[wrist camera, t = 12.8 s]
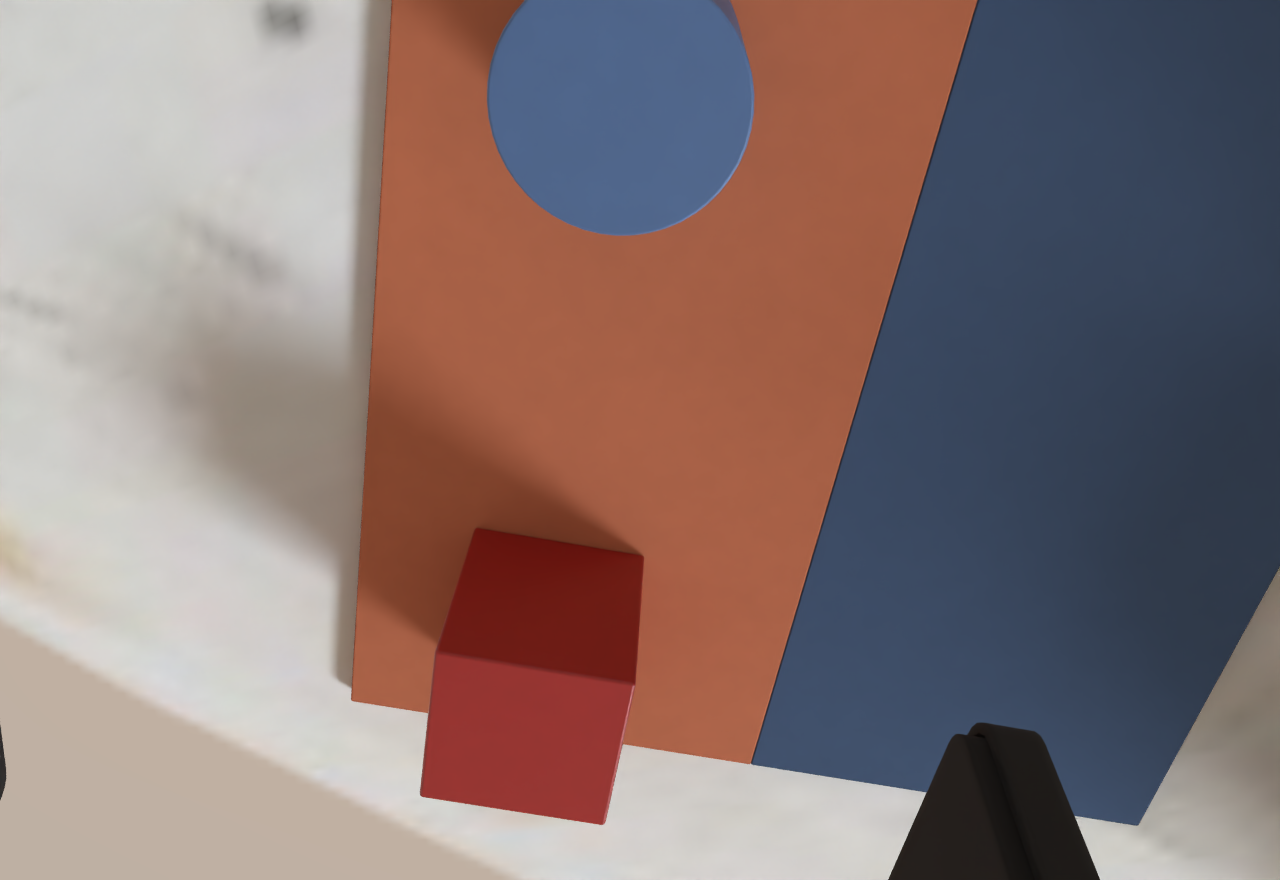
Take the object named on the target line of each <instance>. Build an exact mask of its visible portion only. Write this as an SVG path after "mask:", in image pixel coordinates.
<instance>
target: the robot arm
mask: <svg viewBox="0 0 1280 880" xmlns="http://www.w3.org/2000/svg"><path fill="white" fill-rule="evenodd" d="M5 782H6V766H5V758H4V750H3V742H2V735H1V727H0V799H1V797H2V794H3V791H4V788H5ZM888 880H1100V878H1099V876H1098V873H1097V871H1096V868H1095V866H1094V863H1093V861H1092V859H1091V856H1090V854H1089V851H1088V849H1087V846H1086V844H1085V841H1084V839H1083V836H1082V834H1081V831H1080V829H1079V826H1078V824H1077V821H1076V819H1075V816H1074V814H1073V811H1072V809H1071V806H1070V804H1069V801H1068V799H1067V796H1066V794H1065V791H1064V789H1063V787H1062V784H1061V782H1060V779H1059V777H1058V774H1057V772H1056V769H1055V767H1054V764H1053V762H1052V759H1051V757H1050V754H1049V752H1048V749H1047V747H1046V744H1045V742H1044V741H1043V739H1042V737H1041V735H1039V734H1038V733H1037V732H1035V731H1031V730H1025V729H1019V728H1013V727H1007V726H1001V725H995V724H989V723H983V722H980V723H976V724H975V725H974V726H972V727H971V729H970V731H969V733H968V734H967V735H964V734H955V735H954V736H953V737H952V738H951V740H950V742H949V743H948V746H947V748H946V750H945V752H944V755H943V757H942V759H941V761H940V764H939V766H938V768H937V770H936V773H935V775H934V777H933V780H932V782H931V784H930V786H929V789H928V791H927V793H926V795H925V798H924V800H923V802H922V804H921V807H920V809H919V811H918V813H917V816H916V818H915V820H914V823H913V825H912V827H911V829H910V832H909V834H908V836H907V838H906V841H905V843H904V845H903V847H902V850H901V852H900V854H899V856H898V859H897V861H896V863H895V866H894V868H893V870H892V872H891V875H890V877H889V879H888Z"/></svg>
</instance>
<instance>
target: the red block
mask: <svg viewBox="0 0 1280 880" xmlns="http://www.w3.org/2000/svg"><path fill="white" fill-rule="evenodd" d="M643 571H644V557H643V556H642V555H637V554H631V553H625V552H619V551H613V550H607V549H601V548H595V547H589V546H583V545H577V544H571V543H565V542H559V541H553V540H547V539H541V538H535V537H529V536H523V535H517V534H511V533H505V532H499V531H493V530H487V529H481V528H476V529H475V530H474V533H473V536H472V539H471V542H470V545H469V548H468V551H467V554H466V557H465V560H464V563H463V566H462V570H461V573H460V576H459V579H458V582H457V585H456V588H455V591H454V594H453V597H452V600H451V603H450V607H449V610H448V613H447V616H446V619H445V622H444V625H443V628H442V631H441V634H440V637H439V640H438V644H437V647H436V650H435V654H434V663H433V673H432V682H431V692H430V702H429V711H428V721H427V730H426V740H425V749H424V759H423V769H422V778H421V788H420V795H421V796H422V797H426V798H433V799H439V800H446V801H452V802H458V803H465V804H471V805H478V806H484V807H490V808H497V809H503V810H510V811H516V812H523V813H529V814H535V815H542V816H548V817H555V818H561V819H567V820H574V821H580V822H587V823H593V824H599V825H603V824H604V823H605V822H606V817H607V813H608V808H609V804H610V799H611V795H612V790H613V786H614V781H615V777H616V772H617V767H618V763H619V758H620V754H621V749H622V745H623V740H624V736H625V731H626V727H627V722H628V717H629V713H630V708H631V704H632V699H633V695H634V690H635V686H636V673H637V658H638V644H639V629H640V614H641V600H642V585H643Z"/></svg>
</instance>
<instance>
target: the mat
mask: <svg viewBox="0 0 1280 880" xmlns="http://www.w3.org/2000/svg"><path fill="white" fill-rule="evenodd" d="M523 2H524V0H392V8H391V25H390V42H389V59H388V76H387V93H386V110H385V128H384V145H383V162H382V179H381V196H380V213H379V230H378V248H377V265H376V282H375V299H374V316H373V333H372V350H371V368H370V385H369V402H368V419H367V436H366V453H365V471H364V488H363V505H362V522H361V539H360V556H359V573H358V591H357V608H356V625H355V642H354V659H353V676H352V693H351V700H352V701H355V702H362V703H368V704H374V705H381V706H387V707H393V708H399V709H406V710H412V711H418V712H425V713H428V711H429V702H430V692H431V682H432V673H433V663H434V654H435V650H436V647H437V644H438V640H439V637H440V634H441V631H442V628H443V625H444V622H445V619H446V616H447V613H448V610H449V607H450V603H451V600H452V597H453V594H454V591H455V588H456V585H457V582H458V579H459V576H460V573H461V570H462V566H463V563H464V560H465V557H466V554H467V551H468V548H469V545H470V542H471V539H472V536H473V533H474V530H475V529H476V528H481V529H487V530H493V531H499V532H505V533H511V534H517V535H523V536H529V537H535V538H541V539H547V540H553V541H559V542H565V543H571V544H577V545H583V546H589V547H595V548H601V549H607V550H613V551H619V552H625V553H631V554H637V555H642V556H643V557H644V571H643V585H642V600H641V614H640V629H639V644H638V658H637V673H636V686H635V690H634V695H633V699H632V704H631V708H630V713H629V717H628V722H627V727H626V731H625V736H624V740H623V744H626V745H632V746H639V747H645V748H651V749H657V750H664V751H670V752H676V753H683V754H689V755H695V756H702V757H708V758H714V759H720V760H727V761H733V762H739V763H746V764H750V763H751V764H752V765H758V766H765V767H771V768H777V769H783V770H790V771H796V772H802V773H809V774H815V775H821V776H827V777H834V778H840V779H846V780H853V781H859V782H865V783H872V784H878V785H884V786H890V787H897V788H903V789H909V790H916V791H922V792H927V791H928V789H929V786H930V784H931V782H932V780H933V777H934V775H935V773H936V770H937V768H938V766H939V764H940V761H941V759H942V757H943V755H944V752H945V750H946V748H947V746H948V743H949V742H950V740H951V738H952V737H953V736H954V735H955V734H964V735H967V734H968V733H969V731H970V729H971V727H972V726H974V725H975V724H976V723H980V722H983V723H989V724H995V725H1001V726H1007V727H1013V728H1019V729H1025V730H1031V731H1035V732H1037V733H1038V734H1039V735H1041V737H1042V739H1043V741H1044V742H1045V744H1046V747H1047V749H1048V752H1049V754H1050V757H1051V759H1052V762H1053V764H1054V767H1055V769H1056V772H1057V774H1058V777H1059V779H1060V782H1061V784H1062V787H1063V789H1064V791H1065V794H1066V796H1067V799H1068V801H1069V804H1070V806H1071V809H1072V811H1073V814H1074V816H1079V817H1086V818H1092V819H1098V820H1104V821H1111V822H1117V823H1123V824H1130V825H1136V826H1137V825H1139V823H1140V821H1141V819H1142V817H1143V816H1144V814H1145V812H1146V810H1147V808H1148V806H1149V805H1150V803H1151V801H1152V799H1153V797H1154V795H1155V794H1156V792H1157V790H1158V788H1159V786H1160V784H1161V783H1162V781H1163V779H1164V777H1165V775H1166V773H1167V772H1168V770H1169V768H1170V766H1171V764H1172V762H1173V761H1174V759H1175V757H1176V755H1177V753H1178V751H1179V750H1180V748H1181V746H1182V744H1183V742H1184V741H1185V739H1186V737H1187V735H1188V733H1189V731H1190V730H1191V728H1192V726H1193V724H1194V722H1195V720H1196V719H1197V717H1198V715H1199V713H1200V711H1201V709H1202V708H1203V706H1204V704H1205V702H1206V700H1207V698H1208V697H1209V695H1210V693H1211V691H1212V689H1213V687H1214V686H1215V684H1216V682H1217V680H1218V678H1219V676H1220V675H1221V673H1222V671H1223V669H1224V667H1225V666H1226V664H1227V662H1228V660H1229V658H1230V656H1231V655H1232V653H1233V651H1234V649H1235V647H1236V645H1237V644H1238V642H1239V640H1240V638H1241V636H1242V634H1243V633H1244V631H1245V629H1246V627H1247V625H1248V623H1249V622H1250V620H1251V618H1252V616H1253V614H1254V612H1255V611H1256V609H1257V607H1258V605H1259V603H1260V601H1261V600H1262V598H1263V596H1264V594H1265V592H1266V591H1267V589H1268V587H1269V585H1270V583H1271V581H1272V580H1273V578H1274V576H1275V574H1276V572H1277V570H1278V569H1279V567H1280V0H730V2H731V4H732V6H733V9H734V12H735V14H736V17H737V20H738V23H739V27H740V31H741V34H742V38H743V41H744V45H745V49H746V52H747V56H748V60H749V64H750V68H751V72H752V77H753V86H754V116H753V122H752V129H751V133H750V136H749V140H748V144H747V147H746V149H745V152H744V154H743V156H742V159H741V161H740V163H739V165H738V167H737V168H736V170H735V172H734V174H733V175H732V177H731V179H730V180H729V181H728V182H727V184H726V185H725V186H724V188H723V189H722V190H721V191H720V192H719V193H718V194H717V195H716V196H715V197H714V198H713V199H712V200H711V201H710V202H709V203H708V204H707V205H706V206H705V207H703V208H702V209H701V210H699V211H698V212H697V213H695V214H694V215H692V216H690V217H689V218H687V219H685V220H684V221H682V222H680V223H678V224H675V225H673V226H670V227H668V228H666V229H662V230H659V231H655V232H651V233H647V234H640V235H629V236H615V235H606V234H599V233H595V232H590V231H586V230H583V229H580V228H578V227H575V226H572V225H570V224H567V223H566V222H564V221H562V220H560V219H558V218H556V217H554V216H553V215H551V214H550V213H548V212H547V211H546V210H544V209H543V208H541V207H540V206H539V205H538V204H536V203H535V202H534V201H533V200H532V199H531V198H530V197H529V196H528V195H527V194H526V193H525V192H524V191H523V190H522V189H521V187H520V186H519V185H518V184H517V183H516V182H515V180H514V179H513V177H512V176H511V174H510V173H509V171H508V170H507V168H506V166H505V164H504V162H503V160H502V158H501V156H500V154H499V152H498V150H497V147H496V144H495V141H494V139H493V136H492V132H491V127H490V123H489V118H488V108H487V81H488V75H489V69H490V63H491V60H492V57H493V53H494V50H495V47H496V44H497V42H498V40H499V38H500V36H501V33H502V31H503V29H504V28H505V26H506V24H507V23H508V21H509V20H510V18H511V16H512V15H513V14H514V12H515V11H516V10H517V9H518V8H519V6H520V5H521V4H522V3H523Z"/></svg>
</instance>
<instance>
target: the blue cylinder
mask: <svg viewBox="0 0 1280 880" xmlns="http://www.w3.org/2000/svg"><path fill="white" fill-rule="evenodd" d="M487 108H488V118H489V123H490V127H491V132H492V136H493V139H494V141H495V144H496V147H497V150H498V152H499V154H500V156H501V158H502V160H503V162H504V164H505V166H506V168H507V170H508V171H509V173H510V174H511V176H512V177H513V179H514V180H515V182H516V183H517V184H518V185H519V186H520V187H521V189H522V190H523V191H524V192H525V193H526V194H527V195H528V196H529V197H530V198H531V199H532V200H533V201H534V202H535V203H536V204H538V205H539V206H540V207H541V208H543V209H544V210H546V211H547V212H548V213H550V214H551V215H553V216H554V217H556V218H558V219H560V220H562V221H564V222H566V223H567V224H570V225H572V226H575V227H578V228H580V229H583V230H586V231H590V232H595V233H599V234H606V235H615V236H629V235H640V234H647V233H651V232H655V231H659V230H662V229H666V228H668V227H670V226H673V225H675V224H678V223H680V222H682V221H684V220H685V219H687V218H689V217H690V216H692V215H694V214H695V213H697V212H698V211H699V210H701V209H702V208H703V207H705V206H706V205H707V204H708V203H709V202H710V201H711V200H712V199H713V198H714V197H715V196H716V195H717V194H718V193H719V192H720V191H721V190H722V189H723V188H724V186H725V185H726V184H727V182H728V181H729V180H730V179H731V177H732V175H733V174H734V172H735V170H736V168H737V167H738V165H739V163H740V161H741V159H742V156H743V154H744V152H745V149H746V147H747V144H748V140H749V136H750V133H751V129H752V122H753V116H754V86H753V77H752V72H751V68H750V64H749V60H748V56H747V52H746V49H745V45H744V41H743V38H742V34H741V31H740V27H739V23H738V20H737V17H736V14H735V12H734V9H733V6H732V4H731V2H730V0H524V2H523V3H522V4H521V5H520V6H519V8H518V9H517V10H516V11H515V12H514V14H513V15H512V16H511V18H510V20H509V21H508V23H507V24H506V26H505V28H504V29H503V31H502V33H501V36H500V38H499V40H498V42H497V44H496V47H495V50H494V53H493V57H492V60H491V63H490V69H489V75H488V81H487Z"/></svg>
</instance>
